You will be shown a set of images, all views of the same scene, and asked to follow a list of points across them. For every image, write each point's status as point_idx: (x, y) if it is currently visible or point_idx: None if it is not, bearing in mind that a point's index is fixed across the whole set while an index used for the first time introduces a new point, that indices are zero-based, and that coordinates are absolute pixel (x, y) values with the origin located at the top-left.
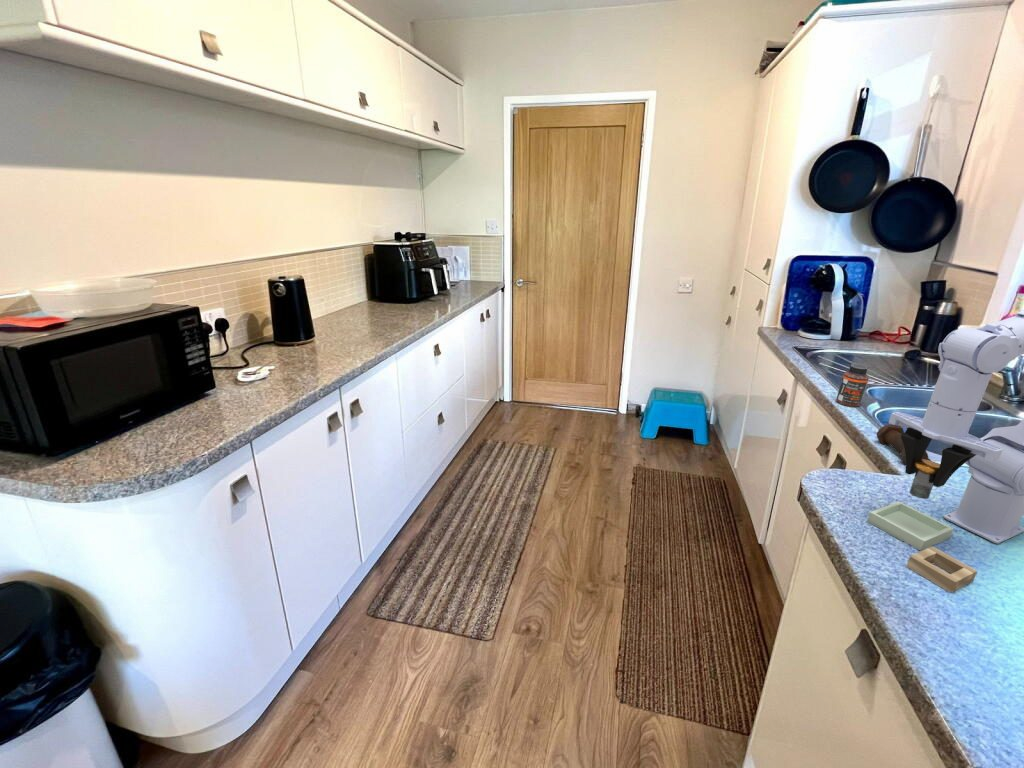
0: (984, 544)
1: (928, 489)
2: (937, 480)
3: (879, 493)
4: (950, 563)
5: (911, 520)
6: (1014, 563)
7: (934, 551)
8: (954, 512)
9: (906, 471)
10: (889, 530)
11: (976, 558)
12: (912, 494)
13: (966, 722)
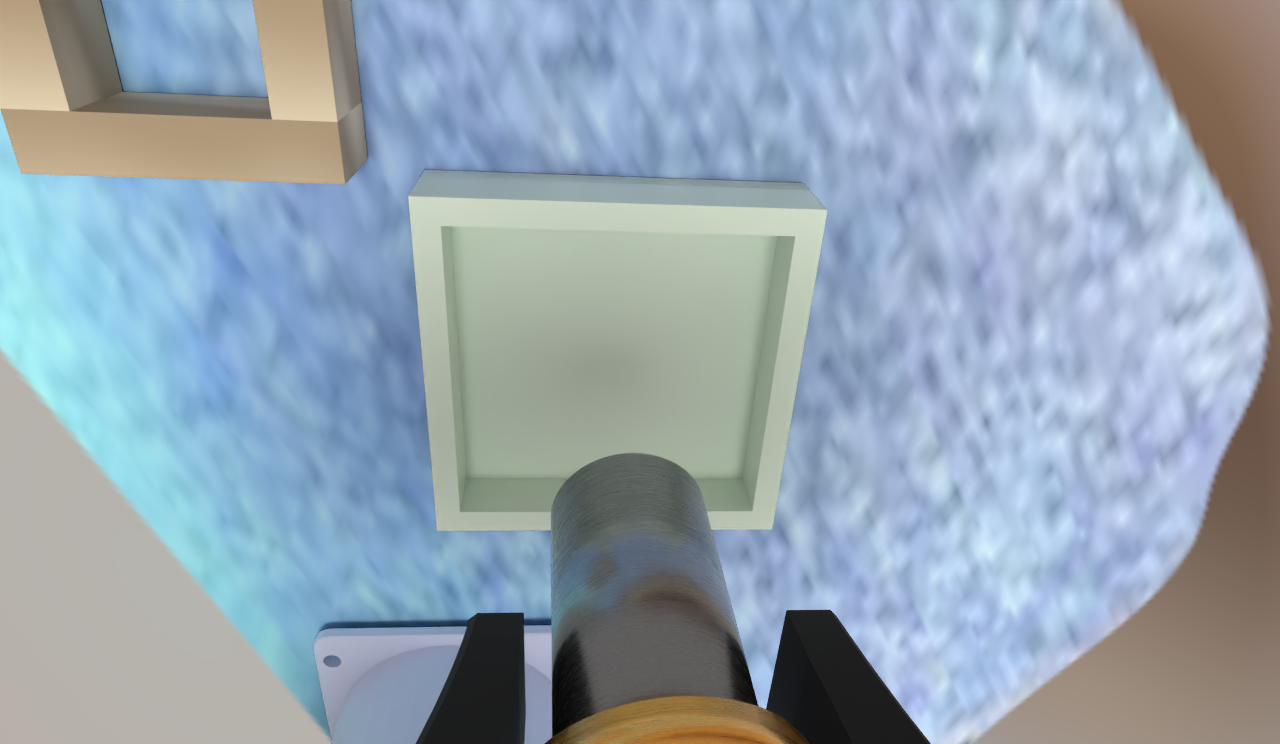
0: (343, 581)
1: (560, 570)
2: (475, 678)
3: (896, 564)
4: (170, 109)
5: (642, 442)
6: (175, 550)
7: (291, 127)
8: None
9: (832, 625)
10: (650, 186)
11: (262, 421)
12: (656, 458)
13: None
